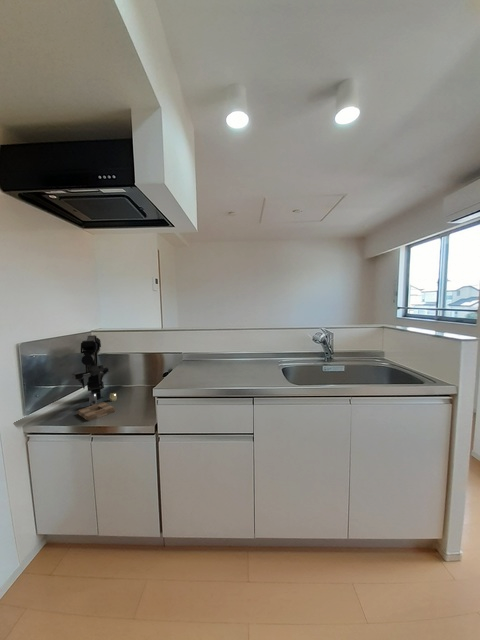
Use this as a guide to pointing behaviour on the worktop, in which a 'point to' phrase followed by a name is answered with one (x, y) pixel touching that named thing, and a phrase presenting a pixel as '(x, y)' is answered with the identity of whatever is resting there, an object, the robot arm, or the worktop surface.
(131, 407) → the worktop surface
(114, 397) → the short pin
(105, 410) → the hole plate
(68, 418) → the worktop surface
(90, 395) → the tall pin
